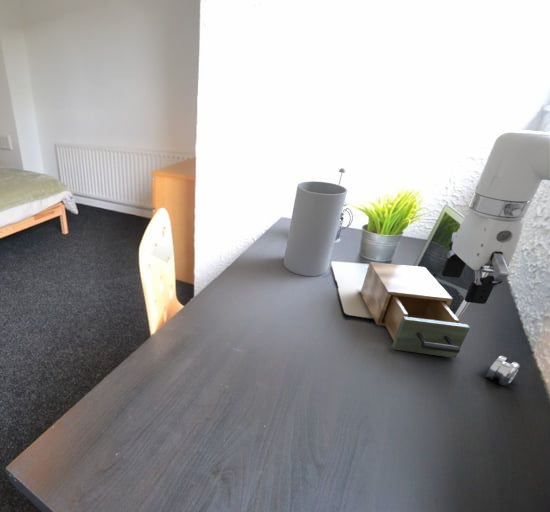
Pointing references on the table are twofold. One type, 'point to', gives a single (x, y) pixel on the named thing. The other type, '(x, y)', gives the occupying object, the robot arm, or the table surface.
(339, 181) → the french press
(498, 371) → the grooved metal pulley
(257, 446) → the table surface
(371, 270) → the cabinet
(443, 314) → the drawer
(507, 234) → the robot arm
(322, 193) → the cylinder vase
